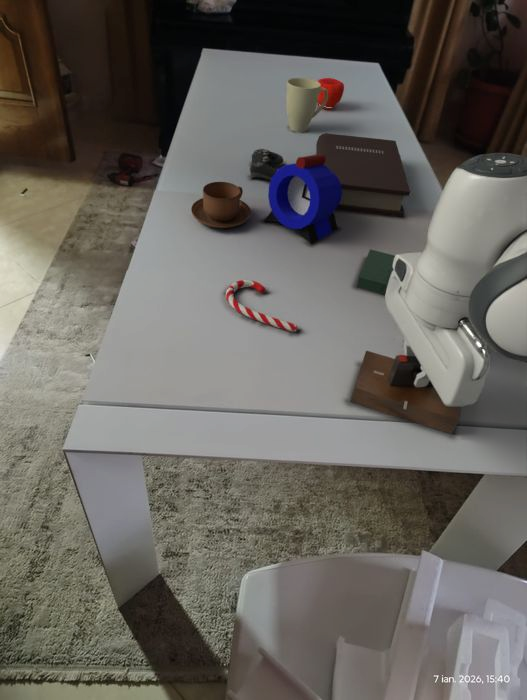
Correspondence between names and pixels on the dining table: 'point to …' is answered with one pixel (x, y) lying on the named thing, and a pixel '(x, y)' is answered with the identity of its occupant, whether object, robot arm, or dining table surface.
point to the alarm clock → (305, 197)
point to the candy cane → (252, 313)
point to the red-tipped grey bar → (404, 371)
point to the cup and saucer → (221, 206)
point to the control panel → (401, 396)
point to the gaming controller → (264, 163)
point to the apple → (330, 92)
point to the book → (366, 173)
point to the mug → (303, 102)
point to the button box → (376, 272)
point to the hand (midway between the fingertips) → (413, 375)
